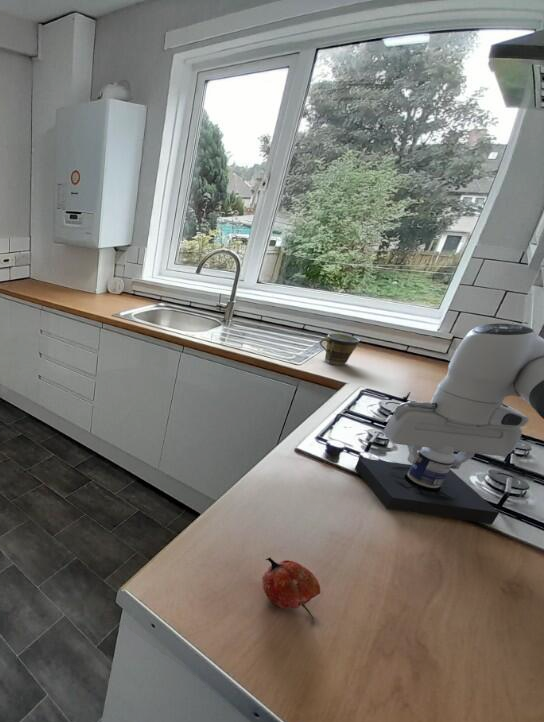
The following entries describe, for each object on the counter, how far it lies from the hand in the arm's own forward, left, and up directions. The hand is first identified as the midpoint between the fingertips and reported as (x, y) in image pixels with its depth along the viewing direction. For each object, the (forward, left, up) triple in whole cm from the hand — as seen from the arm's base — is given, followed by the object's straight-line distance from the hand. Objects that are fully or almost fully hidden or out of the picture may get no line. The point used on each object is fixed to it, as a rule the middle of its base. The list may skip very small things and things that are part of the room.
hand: (432, 464), depth 85 cm
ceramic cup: (-14, -82, -8) cm, 84 cm away
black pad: (0, 0, -8) cm, 8 cm away
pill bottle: (0, 0, -4) cm, 4 cm away
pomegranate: (+36, +35, -8) cm, 51 cm away
